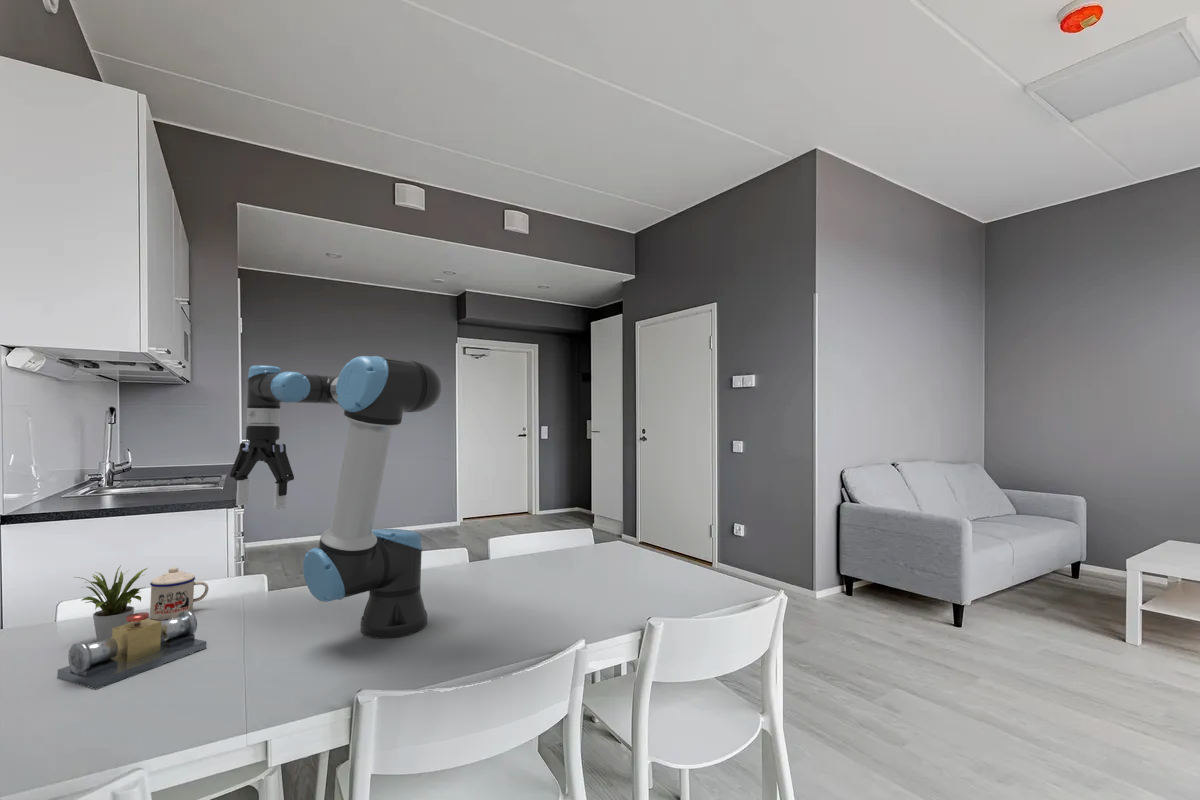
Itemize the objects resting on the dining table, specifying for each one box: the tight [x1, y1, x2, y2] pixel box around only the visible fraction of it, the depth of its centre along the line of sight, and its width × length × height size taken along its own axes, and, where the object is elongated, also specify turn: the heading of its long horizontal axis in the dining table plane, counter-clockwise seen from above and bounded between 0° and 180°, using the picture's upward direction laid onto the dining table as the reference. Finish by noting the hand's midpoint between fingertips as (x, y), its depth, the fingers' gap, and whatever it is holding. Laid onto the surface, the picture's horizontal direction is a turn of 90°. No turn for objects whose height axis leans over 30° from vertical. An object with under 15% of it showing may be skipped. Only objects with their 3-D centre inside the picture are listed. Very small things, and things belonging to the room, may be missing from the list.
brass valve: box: [112, 611, 162, 662], centre depth 115 cm, size 6×5×8 cm
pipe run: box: [57, 610, 207, 690], centre depth 115 cm, size 20×12×7 cm, turn 159°
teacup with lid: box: [149, 566, 209, 621], centre depth 143 cm, size 12×9×12 cm
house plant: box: [74, 565, 148, 642], centre depth 125 cm, size 14×14×16 cm
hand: (260, 506), depth 147 cm, fingers open, 13 cm apart
